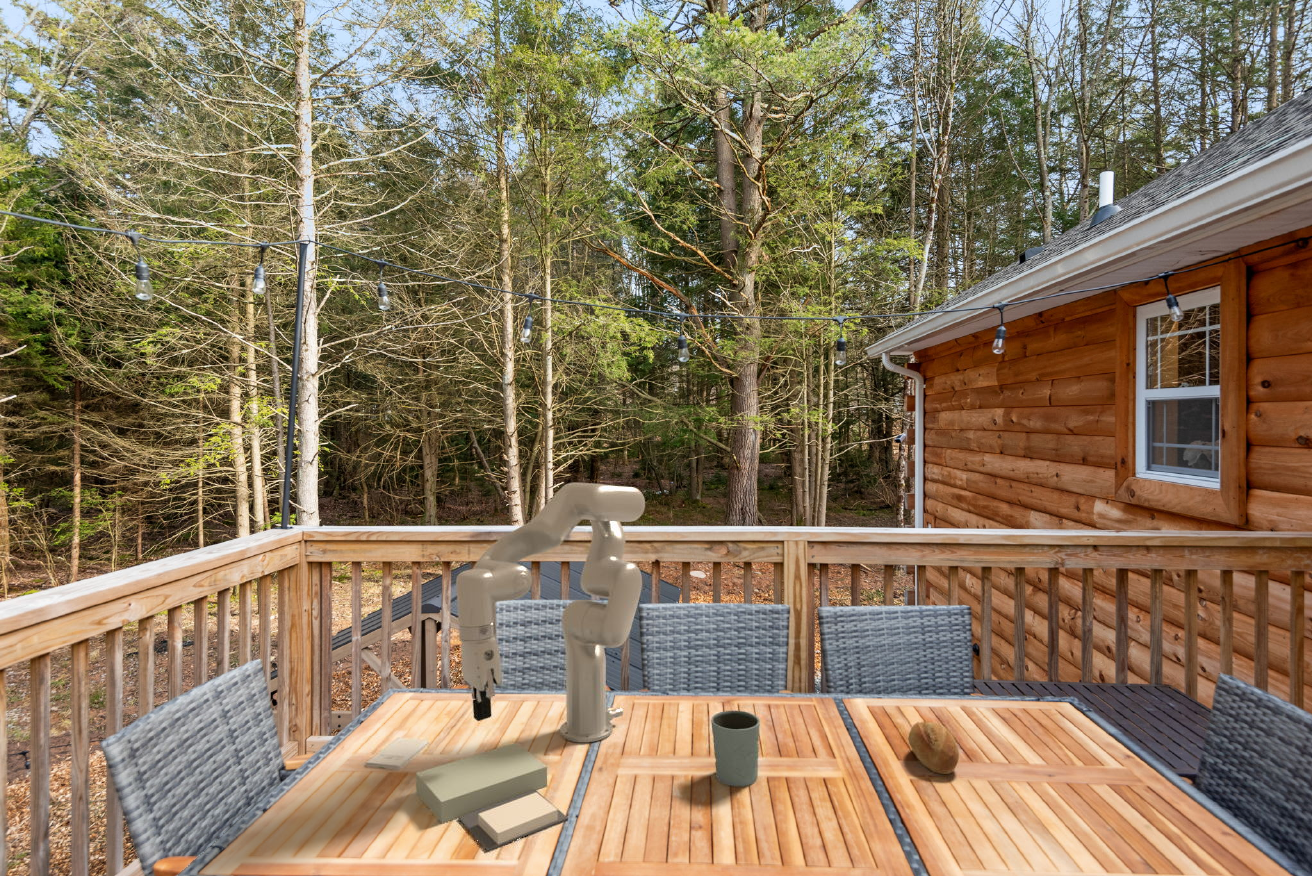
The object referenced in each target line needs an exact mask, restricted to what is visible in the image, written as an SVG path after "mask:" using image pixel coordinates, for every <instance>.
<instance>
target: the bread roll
mask: <svg viewBox="0 0 1312 876" xmlns="http://www.w3.org/2000/svg"><path fill="white" fill-rule="evenodd" d="M907 739H908V744H909V746H910V747H911V749H912V751H913V752H914V754H915V755H916V758H917V759H918V760H919V761H920V763H922V764H923V765H924V766H925V767H926V768H927V769H929V770H931V771H933V772H935V773H938V774H941V775H948V774H950V773H952V772H953V771H954V770H955V769H956V767H957V765H958V763H959V757H960V751H959V747H958V744H957V741H956V739H955V738H954V736H953V734H952V733H951V732H950V731H949V729H947V728H946V727H945V726H944V725H943V724H940V723H935V722H929V721H927V722H926V721H924V720H923V721H921V722H919V721H918V722H916V723H914V724H913V725H912V727H911V728H910V731H909V732H908V737H907Z"/></svg>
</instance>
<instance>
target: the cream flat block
mask: <svg viewBox="0 0 1312 876" xmlns="http://www.w3.org/2000/svg"><path fill="white" fill-rule="evenodd" d="M537 792H538V791H537ZM537 792H536V793H533V794H530V795H528V796H525V797H522V798H520V799H517V800H514V801H512V802H509V803H506V804H503V805H501V806H498V807H495V808H493V809H490V810H487V811H485V812H482V813H479V814H478V825H479V826H480V827H481V828H482V829H483V830H484V831H485V832H486V833H487V834H488V835H489V836H490V837H491V838H492V839H493V840H494V841H495V842H496V843H497V844H498V845H499V844H501V843H503V842H506V841H508V840H511V839H513V838H516V837H518V836H521V835H523V834H525V833H528V832H530V831H533V830H535V829H538V828H540V827H542V826H545V825H547V824H550V823H552V822H555V821H557V820H558V810H559V808H557V807H556V806H555V805H554V804H552V803H551V802H550V801H549V800H548V799H547V800H548V801H549V802H550V803H551V804H550V803H549V802H548V801H547V800H545V799H546V798H545V797H544V796H543V795H542V796H543V797H544V798H545V799H544V798H543V797H542V796H540V795H539V794H538V793H539V792H538V793H537ZM553 805H554V806H555V807H556V808H557V809H556V808H555V807H554V806H553Z"/></svg>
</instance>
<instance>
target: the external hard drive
mask: <svg viewBox="0 0 1312 876" xmlns="http://www.w3.org/2000/svg"><path fill="white" fill-rule="evenodd" d="M429 745H430V741H429V740H428V739H418V738H407V737H397V738H395V739H394V740H392V741H391V742H390V743H389V744H388V745H386V746H385V747H384V748H383V749H382V750H380V751H379V752H377V754H375V755H374V756H372V757H371V758H369V760H367V761H366V762H365V764H364V767H365V768H366V767H368V768H377V769H378V768H379V769H380V768H384V769H387V770H398V771H399V770H401V769H402V768H403V767H404V766H406V765H407V764H408V763H409V762H411V760H412V759H414V758H415V757H417V755H419V754H420V753H421V752H422V751H424V750H425V748H427V747H428V746H429Z"/></svg>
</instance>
